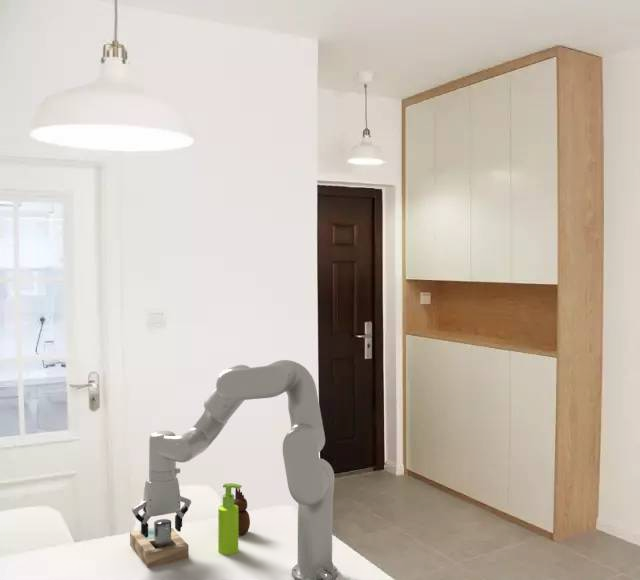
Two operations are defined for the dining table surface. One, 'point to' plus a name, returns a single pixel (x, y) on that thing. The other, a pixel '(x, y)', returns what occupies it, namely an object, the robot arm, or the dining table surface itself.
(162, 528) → the grey cylinder
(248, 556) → the dining table surface
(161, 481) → the robot arm
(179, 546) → the housing
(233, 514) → the soap dispenser
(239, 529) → the wooden figurine
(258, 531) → the dining table surface
